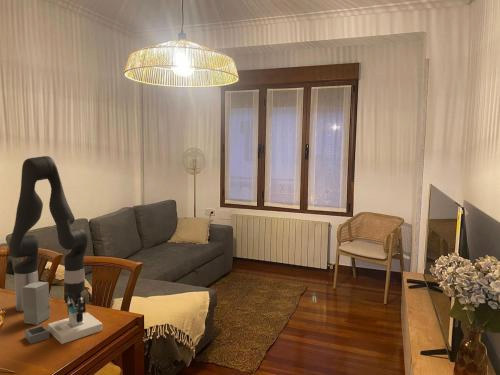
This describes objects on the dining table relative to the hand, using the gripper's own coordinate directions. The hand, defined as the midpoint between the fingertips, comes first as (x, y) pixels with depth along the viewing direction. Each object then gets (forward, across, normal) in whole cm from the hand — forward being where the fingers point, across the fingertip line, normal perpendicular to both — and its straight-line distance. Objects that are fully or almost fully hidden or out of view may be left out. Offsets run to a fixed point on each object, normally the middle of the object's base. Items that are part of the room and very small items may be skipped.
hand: (75, 318), depth 158 cm
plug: (+5, 0, 0) cm, 5 cm away
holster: (+5, -4, -13) cm, 15 cm away
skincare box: (+6, -20, -8) cm, 22 cm away
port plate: (+5, 0, 0) cm, 5 cm away
